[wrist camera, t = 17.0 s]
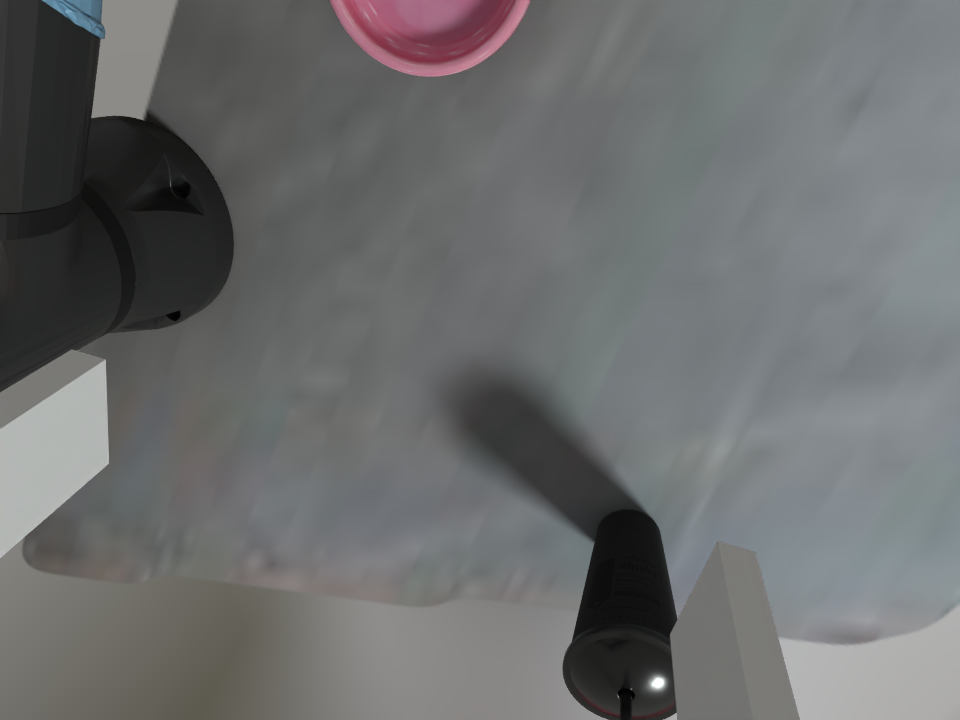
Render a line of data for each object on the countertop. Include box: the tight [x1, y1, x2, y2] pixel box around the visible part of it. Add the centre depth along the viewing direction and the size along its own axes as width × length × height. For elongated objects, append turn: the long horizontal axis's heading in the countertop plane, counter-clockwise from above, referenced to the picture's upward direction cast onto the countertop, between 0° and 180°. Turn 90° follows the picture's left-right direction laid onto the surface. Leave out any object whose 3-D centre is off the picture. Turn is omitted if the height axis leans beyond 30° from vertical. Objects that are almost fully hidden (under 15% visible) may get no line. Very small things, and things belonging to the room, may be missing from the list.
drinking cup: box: [563, 510, 677, 720], centre depth 45 cm, size 8×8×20 cm
